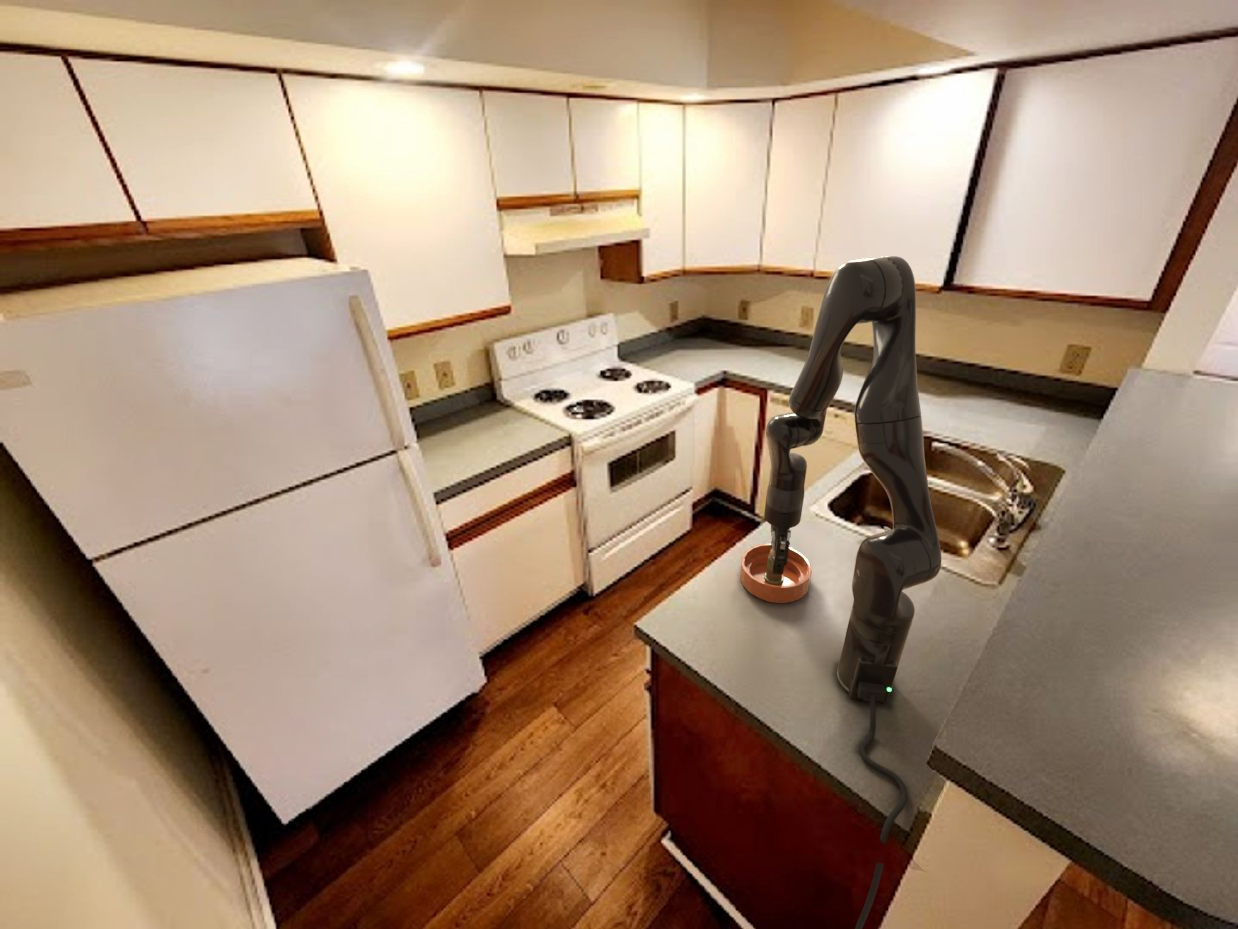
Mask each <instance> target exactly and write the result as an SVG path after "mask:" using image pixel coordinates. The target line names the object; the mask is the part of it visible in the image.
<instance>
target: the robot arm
mask: <svg viewBox="0 0 1238 929" xmlns="http://www.w3.org/2000/svg"><path fill="white" fill-rule="evenodd" d="M913 272H914V271H913V269H912V267H911V266H910V264H909V262H907V261H906V260H905V259H904V258H903V257H901V256H897V255H884V256H876V257H875V256H874V257H868V258H859V259H853V260H849V261H846V262H844V263H842V264H840V265H839V266H838V267H837V268H836V269H835V270H834V271H833V272H832V275H831V277H830V278H829V281H828V283H827V286H826V288H825V291H824V294H823V298H822V301H821V305H820V308H819V312H818V315H817V321H816V323H815V328H814V331H813V335H812V339H811V342H810V346H809V351H808V354H807V357H806V359H805V362H804V365H803V367H802V369H801V372H800V374H799V375H798V378H797V379H796V382H795V384H794V386H793V388H792V390H791V393H790V395H789V397H788V406H789V409H790V410H791V412H787V413H782V414H777V415H774V416H773V417H771V418H770V419H769V421H767V424H766V426H765V440H766V445H767V450H768V454H769V455H768V456H769V460H770V470H769V478H768V479H769V480H768V484H767V487H766V488H767V489H766V495H765V504H764V514H763V515H764V519H765V521H766V523H768V524H769V525H770V534H771V535H770V536H771V543H770V544H771V549H773V550H774V557H773V559H774V563H773V574H779V575H782V574H783V571H784V565H787V558H788V550H789V547H790V546H791V543H790V538H791V536H792V529H791V528H795V527H796V526H798V525H799V524H800V522H801V519H802V514H803V513H802V512H803V506H804V499H805V484H806V477H807V470H808V464H807V462H808V461H807V460H806V458H805V457H804V456H802V455H801V454H799V453H795V452H791V450H794V449H799V448H802V447H808V446H811V445H813V444H815V443H817V441H818V440H819V439H820V438H821V437H822V435H823V433H824V428H825V422H826V416H827V413H828V412H827V410H828V408H829V407H830V405H831V403H832V401H833V400H834V398H835V397H836V394H837V393H838V390H839V389H840V387H841V385H842V381H843V374H844V368H843V360H842V348H843V344H844V342H845V340H846V339H847V338H848V336H849V334H850V333H851V332H852V330H853V329H854V327H855V326H857V325H860V324H867V323H868V324H869V323H871V327H872V338H873V339H872V340H873V341H872V342H873V350H872V359H871V363H870V366H869V369H868V371H867V373H866V377H865V378H864V381H863V383H862V386H861V388H860V391H859V393H858V396H857V399H856V401H855V405H854V415H853V416H854V427H855V428H854V429H855V435H856V444H857V449H858V453H859V455H860V457H861V460H862V461H863V463H864V464H865V466H866V467H867V468H868V470H869V471H870V472H871V474H872V475H873V477H874V478H875V479H876V480H877V481H878V483H879V484H880V485H881V487H882V488H883V489H884V491H885V493H886V495H887V497H888V499H889V503H890V504H889V505H890V509H891V515H892V530H889V531H886V532H885V531H882V532H879V533H876V534H872V535H869V536H867V537H866V538H864V539H862V540H863V541H862V540H861V543H860V544H859V547H858V549H857V552H856V555H855V556H856V557H855V561H854V562H855V563H854V570H853V575H852V576H853V577H852V582H851V591H852V596H853V600H852V601H853V602H852V606H851V611H850V615H849V618H848V623H847V628H846V631H845V636H844V640H843V644H842V648H841V652H840V656H839V657H840V658H839V662H838V665H837V668H836V679H837V680H838V683H839V685H840V686H841V687H842V688H843V690H844V691H846V692H847V693H848V695H849V696H848V697H849V699H851V700H858V701H865V702H869V713H870V714H869V730H868V735H867V737H866V738H865V739H864V740H863V741H862V742H861V743H860V745H859V747H858V752H859V754H860V755H859V756H860V757H861V758H862V760H863V761H864V763H865V764H867V765H868V766H869V767H871V768H872V769H874V770H876V771H878V772H879V773H881V774H884V775H885V776H888V777H889V778H891V779H893V781H894V782H895V783H896V784H897V786H898V788H899V791H900V798H899V801H898V802H897V804H896V805H895V807H894V808H893V809H892V811H891V812H890V813H889V814H888V816H887V818H886V819H885V821H884V822H883V826H882V828H881V832H880V837H879V840H880V842H881V843H882V844H886V843H887V842H888V837H889V833H890V830H891V827H892V825H893V824H894V822H895V820H896V819H897V818H898V816H900V814H901V813H902V812H903V810H904V808H905V807H906V804H907V802H908V792H907V789H906V785H905V784H904V781H903V780H902V779H901V777H900V776H898V775H897V774H896V773H895V772H893V771H892V770H890V769H888V768H886V767H885V766H882V765H881V764H879V763H877V762H875V761H874V760H872V759H871V758H870V757H869V756H868V755H867V753H866V749H867V747H868V746H869V745H870V744H871V743H872V742H873V741H874V738H875V736H876V728H877V727H876V726H877V708H876V707H877V706H876V703H881V704H888V701H889V697H890V695H891V693H892V691H893V690H892V689H893V684H894V682H895V678H896V675H897V672H898V669H899V665H900V661H901V658H902V656H903V653H904V649H905V645H906V642H907V639H908V636H909V634H910V630H911V627H912V624H913V620H914V617H915V609H916V608H915V604H914V602H913V601H912V599H911V598H910V596H908V594H906V593H905V592H904V591H903V590H906V589H910V588H912V587H915V586H918V585H922V584H925V583H927V582H930V581H932V580H933V579H934V578H936V577H937V576H938V574H939V572H940V571H941V567H942V549H941V544H940V538H939V534H938V529H937V524H936V520H935V515H934V510H933V507H932V506H933V505H932V501H931V495H930V488H929V482H928V481H929V480H928V474H927V466H926V465H927V464H926V458H925V456H926V455H925V445H924V444H925V443H924V442H925V441H924V431H923V430H924V429H923V419H922V411H921V410H922V409H921V403H920V396H919V386H918V384H919V383H918V369H917V354H916V352H917V351H916V327H917V326H916V323H917V322H916V320H917V291H916V288H917V287H916V280H915V276H914V273H913ZM883 870H884V863H882V862H876V865H875V869H874V873H873V877H872V881H871V884H870V888H869V891H868V893H867V897H866V899H865V902H864V905H863V908H862V910H861V912H860V914H859V916H858V917H859V918H858V919H857V922H856V925H855V927H854V929H863V928H864V925H865V923H866V920H867V918H868V916H869V913H870V911H871V908H872V906H873V904H874V900H875V897H876V895H877V892H878V888H879V884H880V881H881V877H882V874H883Z"/></svg>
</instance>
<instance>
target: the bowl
mask: <svg viewBox="0 0 1238 929" xmlns="http://www.w3.org/2000/svg"><path fill="white" fill-rule="evenodd" d="M770 550H771V543H763V544H756V545H754V546H751V547H750V548H748V549H747V550H746V551H745V552H744V553H743V555H742V556H741V563H740V581H741V584H742V586H743V588H745V589H746V590H747V591H748V592H749V593H750V594H751V595H753V596H754V597H756V598H758V599H759V600H763V601H765V602H768V603H775V604H776V603H777V604H786V603H787V604H788V603H793V602H795V601H798V600H801V599H802V598H803V597H804V596H805V595H806V594H807V593H808V590H809V588H810V584H811V578H812V574H813V573H812V572H813V571H812V564H811V563H810V561H809V560H808V558H807V557H806V556H805V555H803V554H802V553H801V552H800V551H798V550H796V549H794V548H793V547H790V546H789V550H788V558H787V565H784V571H783V576H784V581H783V583H782V584H780V585H771V584H768V583H767V582H766V581H765V580H764V574H765V573H766V571H767V563H768V555H769V554H770Z"/></svg>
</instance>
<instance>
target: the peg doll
mask: <svg viewBox="0 0 1238 929" xmlns="http://www.w3.org/2000/svg"><path fill="white" fill-rule="evenodd" d="M773 557H774V550H773V549H771V550H770V554H769V555H768V563H767V571H766V573H765V574H764V580H765V581H766V582H767V583H768V584H771V585H780V584H782V583H783V581H784V576H783V574H782V575H779V574H773V563H774V559H773Z"/></svg>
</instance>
